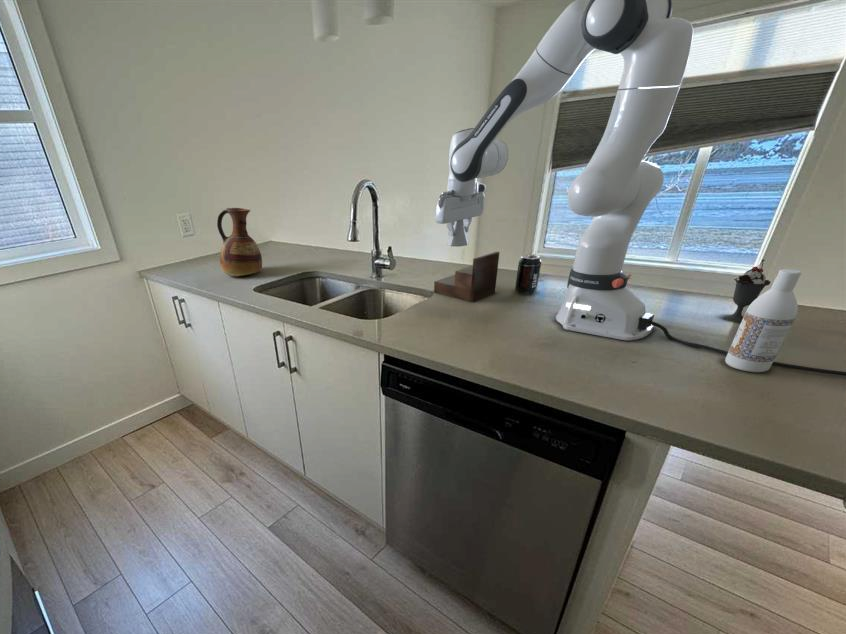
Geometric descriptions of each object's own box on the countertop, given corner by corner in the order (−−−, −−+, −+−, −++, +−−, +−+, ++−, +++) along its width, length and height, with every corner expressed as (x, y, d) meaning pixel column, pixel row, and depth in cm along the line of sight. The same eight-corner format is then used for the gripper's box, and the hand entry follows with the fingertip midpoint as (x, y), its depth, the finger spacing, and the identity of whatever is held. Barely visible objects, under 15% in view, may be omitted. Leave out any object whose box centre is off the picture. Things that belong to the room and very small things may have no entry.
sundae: (747, 315, 106) (772, 257, 99) (757, 324, 101) (784, 264, 94) (715, 313, 109) (737, 257, 102) (723, 322, 104) (747, 263, 97)
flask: (466, 242, 140) (468, 211, 135) (470, 246, 134) (473, 214, 129) (445, 243, 141) (446, 213, 136) (448, 248, 134) (450, 216, 129)
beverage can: (539, 294, 134) (546, 257, 128) (518, 296, 135) (524, 259, 129) (531, 288, 140) (537, 253, 134) (511, 290, 141) (516, 255, 135)
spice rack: (494, 293, 139) (499, 251, 132) (472, 301, 133) (476, 259, 127) (455, 284, 152) (458, 246, 145) (433, 292, 146) (435, 252, 139)
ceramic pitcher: (260, 277, 186) (248, 208, 171) (218, 281, 187) (202, 212, 172) (267, 267, 203) (256, 203, 188) (228, 271, 204) (214, 207, 189)
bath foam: (724, 355, 89) (763, 265, 79) (767, 363, 85) (815, 268, 75) (723, 368, 85) (765, 273, 75) (769, 376, 81) (820, 277, 71)
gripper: (447, 192, 121) (445, 240, 128) (489, 185, 131) (485, 229, 138) (431, 192, 126) (430, 238, 133) (473, 185, 136) (470, 228, 142)
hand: (458, 234), depth 135 cm, fingers closed on flask, 5 cm apart
